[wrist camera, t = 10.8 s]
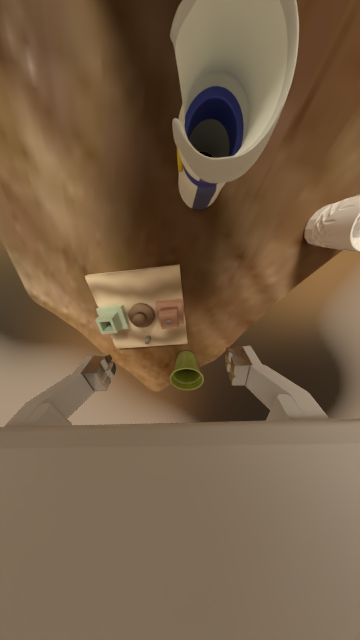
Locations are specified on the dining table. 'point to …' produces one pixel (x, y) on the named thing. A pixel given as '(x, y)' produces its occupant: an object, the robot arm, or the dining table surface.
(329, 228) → the white cup
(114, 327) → the pale green pipe fitting
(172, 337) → the plate
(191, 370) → the plant pot
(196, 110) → the water bottle
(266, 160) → the dining table surface
